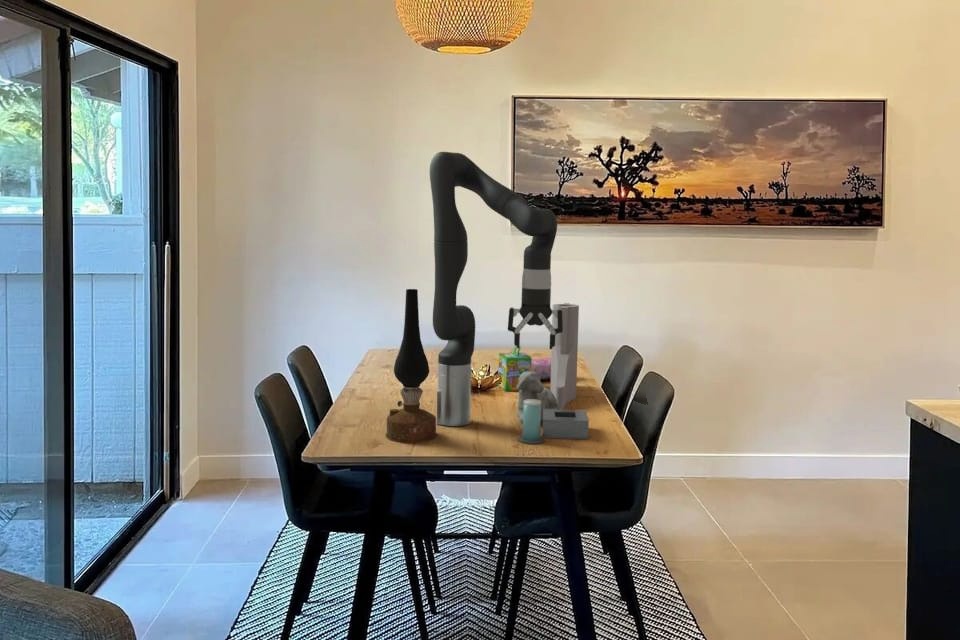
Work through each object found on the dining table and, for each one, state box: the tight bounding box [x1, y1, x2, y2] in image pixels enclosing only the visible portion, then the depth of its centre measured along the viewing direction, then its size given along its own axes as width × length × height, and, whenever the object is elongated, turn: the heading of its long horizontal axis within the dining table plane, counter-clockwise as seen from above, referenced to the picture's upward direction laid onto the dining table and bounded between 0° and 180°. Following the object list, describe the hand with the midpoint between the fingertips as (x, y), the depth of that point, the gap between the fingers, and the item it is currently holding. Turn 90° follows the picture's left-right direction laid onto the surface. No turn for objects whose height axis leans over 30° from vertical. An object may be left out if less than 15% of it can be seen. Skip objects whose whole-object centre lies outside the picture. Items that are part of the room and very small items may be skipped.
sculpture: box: [516, 371, 559, 425], centre depth 246 cm, size 11×21×15 cm, turn 169°
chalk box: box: [497, 345, 533, 392], centre depth 286 cm, size 9×9×15 cm
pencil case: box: [531, 357, 551, 381], centre depth 299 cm, size 21×9×9 cm, turn 114°
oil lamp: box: [385, 288, 438, 444], centre depth 224 cm, size 14×15×40 cm
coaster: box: [517, 434, 546, 445], centre depth 223 cm, size 7×7×1 cm
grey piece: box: [549, 302, 580, 409], centre depth 272 cm, size 36×8×30 cm, turn 171°
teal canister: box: [522, 399, 542, 441], centre depth 222 cm, size 5×5×10 cm
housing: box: [541, 408, 590, 440], centre depth 231 cm, size 12×12×5 cm
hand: (534, 348), depth 221 cm, fingers open, 8 cm apart
